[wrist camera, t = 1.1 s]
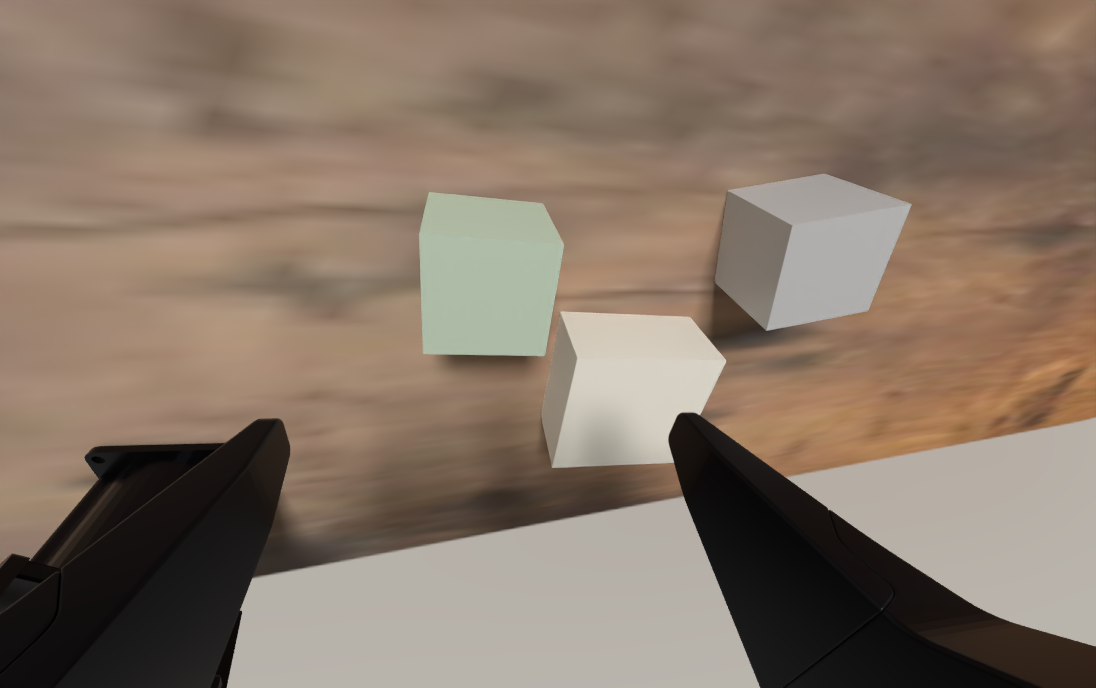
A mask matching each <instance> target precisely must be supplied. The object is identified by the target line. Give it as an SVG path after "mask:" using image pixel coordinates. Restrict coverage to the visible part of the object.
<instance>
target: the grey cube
mask: <svg viewBox="0 0 1096 688" xmlns="http://www.w3.org/2000/svg"><path fill="white" fill-rule="evenodd" d="M911 205H912V204H910V203H907V202H904V201H901V200H898V199H896V198H893V197H890V196H887V195H884V194H881V193H878V192H876V191H873V190H870V189H867V188H864V187H861V186H858V185H856V184H853V183H850V182H847V181H844V180H841V179H838V178H836V177H833V176H830V175H827V174H820V175H814V176H808V177H803V178H797V179H791V180H785V181H779V182H773V183H768V184H762V185H756V186H750V187H744V188H738V189H733V190H728V191H727V198H726V205H725V212H724V219H723V226H722V233H721V240H720V247H719V253H718V260H717V267H716V274H715V281H714V282H715V283H716V284H717V285H718V286H719V287H720V288H721V289H722V290H723V291H724V292H725V293H726V294H728V295H729V296H730V297H731V298H732V299H733V300H734V301H735V302H736V303H737V304H738V305H739V306H740V307H741V308H743V309H744V310H745V311H746V312H747V313H748V314H749V315H750V316H751V317H752V318H753V319H754V320H755V321H756V322H757V323H759V324H760V325H761V326H762V327H763V328H764V329H765V330H766V331H768V330H773V329H779V328H784V327H789V326H794V325H799V324H804V323H809V322H814V321H819V320H825V319H830V318H835V317H840V316H845V315H850V314H855V313H860V312H865V311H868V309H869V307H870V304H871V302H872V299H873V297H874V295H875V292H876V290H877V287H878V285H879V283H880V280H881V278H882V275H883V273H884V270H885V268H886V266H887V263H888V261H889V258H890V256H891V253H892V251H893V249H894V246H895V244H896V241H897V239H898V236H899V234H900V232H901V229H902V227H903V224H904V222H905V219H906V217H907V215H908V212H909V210H910V207H911Z"/></svg>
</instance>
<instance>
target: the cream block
mask: <svg viewBox="0 0 1096 688" xmlns="http://www.w3.org/2000/svg"><path fill="white" fill-rule="evenodd" d="M725 363H726V360H725V358H724V357H723V356H722V355H721V354H720V352H719V351H718V350H717V349H716V348H715V346H714V345H713V344H712V343H711V342H710V340H709V339H708V338H707V337H706V336H705V335H704V333H703V332H702V331H701V330H700V329H699V327H698V326H697V325H696V324H695V323H694V321H693V320H692V319H691V318H690V317H676V316H653V315H629V314H605V313H582V312H560V316H559V321H558V326H557V332H556V337H555V342H554V348H553V353H552V358H551V364H550V369H549V374H548V380H547V385H546V390H545V396H544V401H543V407H542V412H541V418H542V423H543V428H544V432H545V437H546V442H547V447H548V451H549V456H550V461H551V465H552V468H564V467H587V466H609V465H632V464H655V463H674V461H673V457H672V454H671V450H670V447H669V443H668V437H669V433H670V431H671V428H672V426H673V424H674V422H675V419H676V417H677V415H678V414H679V413H682V412H694V413H697V414H698V415H700V414H701V412H702V410H703V408H704V406H705V404H706V402H707V400H708V398H709V396H710V394H711V392H712V389H713V387H714V385H715V383H716V381H717V379H718V377H719V375H720V373H721V371H722V369H723V367H724V365H725Z"/></svg>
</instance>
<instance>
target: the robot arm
mask: <svg viewBox="0 0 1096 688" xmlns="http://www.w3.org/2000/svg"><path fill="white" fill-rule="evenodd" d="M668 443H669V447H670V450H671V454H672V457H673V461H674V464H675V468H676V471H677V475H678V478H679V482H680V485H681V489H682V492H683V495H684V498H685V501H686V504H687V506H688V509H689V511H690V514H691V516H692V519H693V522H694V524H695V526H696V529H697V531H698V534H699V536H700V539H701V541H702V544H703V546H704V549H705V551H706V554H707V556H708V559H709V561H710V564H711V566H712V569H713V571H714V574H715V576H716V579H717V581H718V584H719V586H720V589H721V591H722V594H723V596H724V598H725V601H726V604H727V606H728V609H729V611H730V614H731V616H732V619H733V621H734V623H735V626H736V628H737V631H738V634H739V636H740V638H741V641H742V643H743V646H744V648H745V651H746V653H747V656H748V658H749V661H750V663H751V666H752V668H753V670H754V673H755V676H756V678H757V681H758V683H759V686H760V688H1096V647H1095V646H1091V645H1088V644H1085V643H1081V642H1078V641H1074V640H1071V639H1067V638H1063V637H1060V636H1056V635H1053V634H1049V633H1046V632H1042V631H1039V630H1035V629H1031V628H1028V627H1025V626H1021V625H1018V624H1015V623H1012V622H1009V621H1007V620H1004V619H1001V618H999V617H996V616H994V615H992V614H990V613H988V612H986V611H983V610H982V609H980V608H978V607H976V606H974V605H972V604H971V603H969V602H968V601H966V600H964V599H963V598H961V597H960V596H958V595H956V594H955V593H953V592H952V591H950V590H949V589H947V588H946V587H944V586H943V585H941V584H940V583H938V582H936V581H935V580H933V579H932V578H930V577H929V576H927V575H926V574H924V573H922V572H921V571H919V570H918V569H916V568H915V567H913V566H911V565H910V564H909V563H907V562H905V561H904V560H902V559H901V558H899V557H897V556H896V555H895V554H893V553H892V552H890V551H888V550H887V549H886V548H884V547H882V546H881V545H880V544H878V543H876V542H875V541H873V540H872V539H871V538H869V537H868V536H866V535H865V534H863V533H862V532H860V531H859V530H857V529H856V528H855V527H853V526H852V525H851V524H849V523H848V522H846V521H845V520H844V519H842V518H841V517H839V516H838V515H837V514H835V513H834V512H833V511H831V510H828V508H827V507H826V506H824V505H823V504H821V503H820V502H819V501H817V500H816V499H814V498H813V497H812V496H810V495H809V494H808V493H806V492H805V491H803V490H802V489H801V488H799V487H798V486H797V485H795V484H794V483H792V482H791V481H790V480H788V479H787V478H785V477H784V476H783V475H781V474H780V473H779V472H777V471H776V470H774V469H773V468H772V467H770V466H769V465H768V464H766V463H765V462H763V461H762V460H761V459H759V458H758V457H756V456H755V455H754V454H752V453H751V452H750V451H748V450H747V449H745V448H744V447H743V446H741V445H740V444H739V443H737V442H736V441H734V440H733V439H732V438H730V437H729V436H727V435H726V434H725V433H723V432H722V431H721V430H719V429H718V428H716V427H715V426H714V425H712V424H711V423H709V422H708V421H707V420H705V419H704V418H703V417H701V416H700V415H698V414H697V413H694V412H682V413H679V414H678V415H677V417H676V419H675V422H674V424H673V426H672V428H671V431H670V433H669V437H668ZM289 457H290V444H289V441H288V437H287V434H286V430H285V427H284V424H283V422H282V420H280V419H278V418H272V419H258V420H256V421H254V422H253V423H251V424H250V425H249V426H247V427H246V428H245V429H243V430H242V431H241V432H239V433H238V434H237V435H236V436H234V437H233V438H232V439H230V440H229V441H228V442H226V443H220V444H180V445H140V446H99V447H94V448H92V449H91V450H90V451H89V452H88V453H87V454H86V456H85V460H86V462H87V463H88V465H89V466H90V467H91V469H92V470H93V471H94V473H95V474H96V476H97V477H98V478H99V480H98V481H97V482H96V483H95V484H94V485H93V487H92V488H91V489H90V490H89V491H88V493H87V494H86V495H85V496H84V497H83V498H82V500H81V501H80V502H79V503H78V504H77V506H76V507H75V508H74V509H73V510H72V512H71V513H70V514H69V515H68V516H67V517H66V519H65V520H64V521H63V522H62V523H61V525H60V526H59V527H58V528H57V529H56V530H55V532H54V533H53V534H52V535H51V536H50V538H49V539H48V540H47V541H46V542H45V544H44V545H43V546H42V547H41V548H40V549H39V551H38V552H37V553H36V554H35V555H34V557H33V558H32V559H31V560H30V561H29V559H30V558H29V557H25V556H21V555H17V554H13V553H12V554H11V555H10V556H9V557H7V558H6V559H5V560H4V561H3V562H2V563H1V564H0V688H227V683H228V677H229V673H230V668H231V663H232V659H233V653H234V649H235V644H236V639H237V634H238V629H239V625H240V620H241V615H242V611H240V608H241V606H242V603H243V601H244V598H245V595H246V593H247V590H248V587H249V585H250V582H251V580H252V577H253V575H254V572H255V569H256V567H257V564H258V562H259V559H260V556H261V554H262V551H263V549H264V546H265V543H266V541H267V538H268V535H269V532H270V530H271V527H272V523H273V520H274V516H275V512H276V508H277V504H278V500H279V496H280V493H281V489H282V485H283V481H284V477H285V473H286V469H287V465H288V461H289Z"/></svg>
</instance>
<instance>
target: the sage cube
mask: <svg viewBox="0 0 1096 688" xmlns="http://www.w3.org/2000/svg"><path fill="white" fill-rule="evenodd" d="M419 241H420V273H421V304H422V336H423V354H451V355H511V356H545V352H546V346H547V340H548V335H549V329H550V323H551V318H552V312H553V306H554V300H555V295H556V289H557V283H558V277H559V272H560V266H561V260H562V255H563V249H564V244H563V242H562V240H561V238H560V236H559V234H558V232H557V230H556V228H555V226H554V224H553V222H552V220H551V218H550V216H549V214H548V212H547V210H546V208H545V206H544V204H543V203H534V202H524V201H514V200H504V199H493V198H483V197H473V196H463V195H453V194H443V193H433V192H429V194H428V198H427V203H426V207H425V211H424V216H423V220H422V224H421V228H420V233H419Z"/></svg>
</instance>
